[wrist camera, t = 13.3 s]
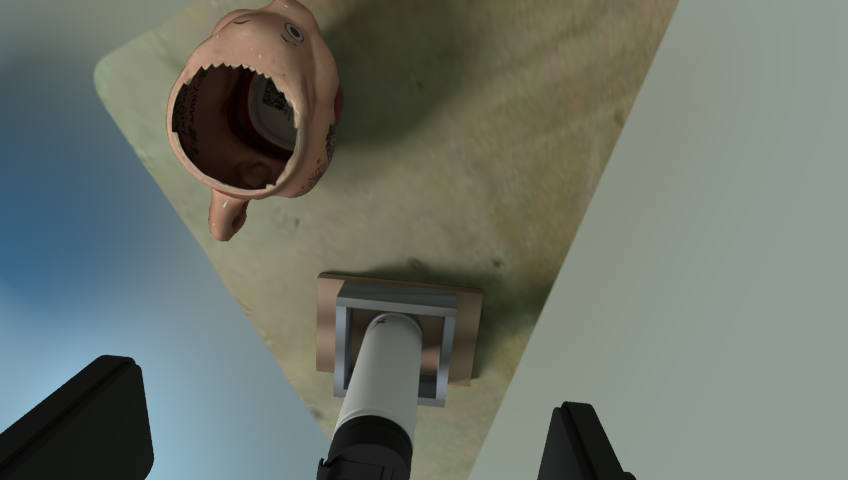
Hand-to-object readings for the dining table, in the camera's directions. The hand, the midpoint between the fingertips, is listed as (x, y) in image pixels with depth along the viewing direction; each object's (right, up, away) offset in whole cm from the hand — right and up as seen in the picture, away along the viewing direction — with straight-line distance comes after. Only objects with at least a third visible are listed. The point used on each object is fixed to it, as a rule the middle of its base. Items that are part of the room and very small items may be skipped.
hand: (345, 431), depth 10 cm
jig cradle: (-1, -6, +40) cm, 41 cm away
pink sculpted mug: (-11, +16, +34) cm, 39 cm away
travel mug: (-2, -6, +39) cm, 40 cm away
